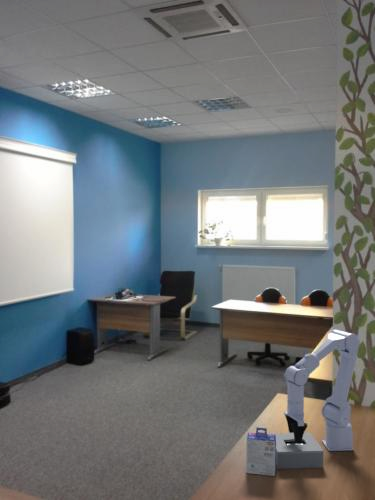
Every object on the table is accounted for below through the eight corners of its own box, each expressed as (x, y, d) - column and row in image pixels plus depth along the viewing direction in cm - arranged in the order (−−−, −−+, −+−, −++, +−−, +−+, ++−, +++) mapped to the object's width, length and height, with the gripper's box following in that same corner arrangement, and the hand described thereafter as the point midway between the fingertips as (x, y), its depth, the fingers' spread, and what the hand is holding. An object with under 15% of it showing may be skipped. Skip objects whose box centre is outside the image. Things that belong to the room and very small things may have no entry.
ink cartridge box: (276, 468, 162) (276, 427, 162) (275, 476, 157) (276, 434, 156) (247, 465, 164) (247, 425, 164) (246, 473, 159) (246, 432, 158)
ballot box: (310, 448, 177) (310, 432, 176) (323, 467, 163) (323, 450, 163) (268, 449, 176) (268, 433, 176) (277, 468, 162) (277, 452, 162)
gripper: (279, 393, 175) (279, 428, 176) (290, 408, 161) (289, 447, 162) (298, 392, 176) (297, 428, 176) (310, 408, 161) (309, 446, 162)
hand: (295, 437), depth 169 cm, fingers open, 7 cm apart
